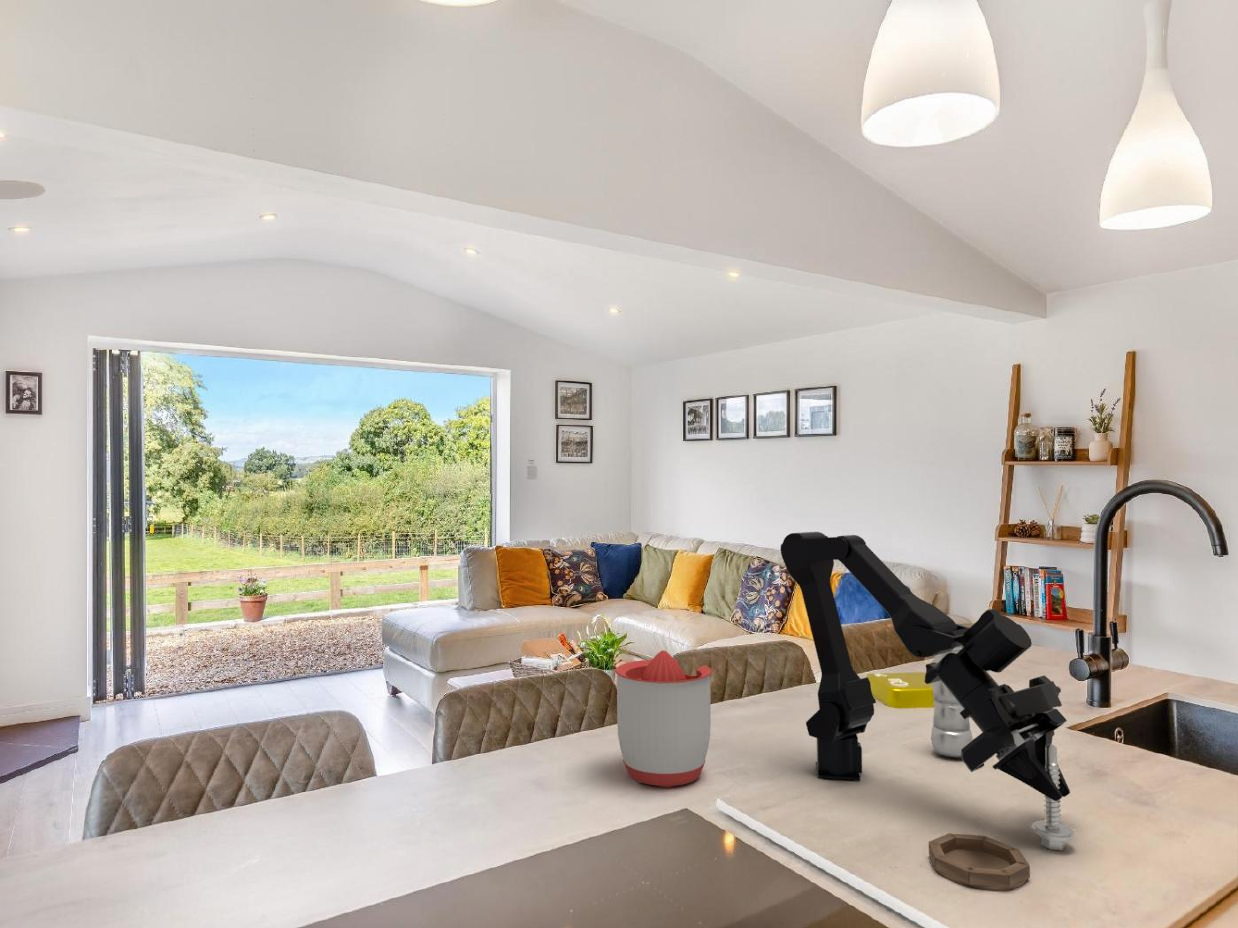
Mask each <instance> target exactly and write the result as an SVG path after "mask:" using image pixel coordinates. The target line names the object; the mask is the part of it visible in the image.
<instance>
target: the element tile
mask: <svg viewBox="0 0 1238 928" xmlns="http://www.w3.org/2000/svg"><path fill="white" fill-rule="evenodd" d="M925 674H926V671H925V672H924V671H923V672H922V671H916V672H885V673H883V672H879V673H877V672H876V673H867V674H866V675H865V678H866V677H867V678H868V679H869V681H870V685H871V692H872V695H873V697H874V699H875V700H877V701H879V702H880V703H882V704H884V705H885V706H888V707H889V708H892V709H929V708H930V709H931V708H934V698H933V688H932V683H930V684H926V683H925Z"/></svg>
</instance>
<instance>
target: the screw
mask: <svg viewBox="0 0 1238 928" xmlns="http://www.w3.org/2000/svg"><path fill="white" fill-rule="evenodd" d="M1057 749H1058V747H1057V746H1055V745H1054V744H1053V743H1052V744H1048V745H1046V746H1045V763H1044V764H1045V768H1044V769H1045V770H1046V772H1047V773H1048V775H1049V776H1050V778H1051V779H1052V780H1053V782H1054V783H1055V785H1056V786H1057V788H1058V790H1059V788H1060V786H1059V785H1058V784H1059V783H1060V781H1059V780H1058V779H1060V777H1059V776H1058V775H1059V774H1060V772H1059V771H1058V770H1059V768H1060V767H1058V766H1059V763H1058V754H1057V753H1058V751H1057ZM1057 765H1058V766H1057ZM1059 791H1060V790H1059ZM1043 797H1044V798H1045V799H1044V800H1043V802H1045V804H1044V805H1043V807H1045V809H1044V810H1043V811H1044V812H1045V813H1044V816H1045V818H1044V819H1041V820H1036V821H1034V822H1033V823H1032V824H1031V830H1032V832H1034V834H1037V835H1038V836H1040V845H1042V846H1043V847H1045V848H1047V849H1048V850H1053V851H1063V850H1064V849H1065V848H1066V841H1069V840H1073V839H1074V838H1075V837H1076V835H1075V833H1076V832H1075V831H1074V830H1073V829H1072V828H1071V827H1070V826H1068V825H1066V824H1065V823H1061V820H1062V819H1061V818H1060V817H1061V811H1062V810H1061V804H1060V803H1061V799H1060V800H1058V801H1054V800H1052V799H1051V798H1049V797H1047V796H1045V795H1043Z"/></svg>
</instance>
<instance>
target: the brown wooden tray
mask: <svg viewBox="0 0 1238 928" xmlns="http://www.w3.org/2000/svg"><path fill="white" fill-rule="evenodd" d="M928 855H929V857H930V864H931V866H932V868H933V869H934V871H936V872H937V873H938V874H939V875H941V876H942V877H944V878H946V879H947V880H950V881H953V882H954V883H957V884H959V885H962V886H965V887H970V888H973V889H978V890H985V891H1000V892H1001V891H1009V890H1015V889H1019V888H1021V887H1022V886H1024V885H1025V884H1026V883H1027V881H1028V879H1029V878H1030V877H1031V876H1030V875H1031V873H1030V869H1031V868H1030V864H1029V862H1028V861H1027V859H1026V857H1025V856H1024V855H1023V853H1022V852H1021V851H1020V849H1019V848H1018V847H1015V846H1012V845H1010V844H1008V843H1005V842H1002V841H999V840H997V839H994V838H991V837H989V836H986V835H978V834H966V833H965V834H964V833H963V834H962V833H952V832H951V833H950V832H949V833H946V834H944V835H941V836H939V837H937V838H934V839H932V840H930V841H928Z"/></svg>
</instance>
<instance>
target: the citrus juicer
mask: <svg viewBox="0 0 1238 928" xmlns="http://www.w3.org/2000/svg"><path fill="white" fill-rule="evenodd" d="M614 672H615V674H616V691H617V692H616V702H617V703H616V709H617V710H616V715H617V717H616V720H617V722H616V723H617V725H616V726H617V737H618V742H619V748H620V752H621V754H622V755H621V756H622V758H623V760H622V761H623V764H624V766H625V769H626V772H627V774H628V775H629V777H630V778H631V779H632V780H634V781H636V782H638V783H642V784H645V785H651V786H659V787H662V788H664V789H666V788H667V789H668V788H672V787H674V786H681V785H686V784H689V783H692V782H694V781H696V780H698V778H700V776H701V773H702V771H703V769H704V766H705V764H706V757H707V754H708V750H709V747H710V746H709V745H710V740H711V727H712V726H711V725H712V723H711V722H712V721H711V719H712V718H711V715H712V714H711V708H712V707H711V675H712V674H713V671H712V669H711V667H709V666H707V665H705V664H703V665H702V666H700V667H699V668H697V669H696V675H690V674H686V673H685V672H684V671H683V669H682V667H681V666H680V664H679V661H678V659H675V658H674V657H673V656H672V655H671V654H670V653H669V652H668V651H666V650H661V651H659V652H658V653H657V654H655V656H654V657H653V658H652V659H642V660H634V661H629V662H625V663H622V664H620V665H618V666H617V667H616V668H615V671H614Z"/></svg>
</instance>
